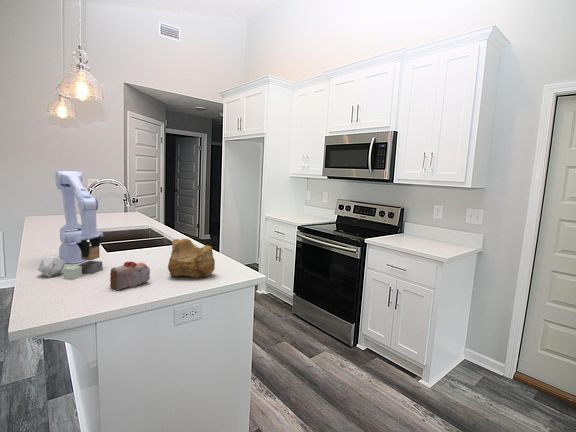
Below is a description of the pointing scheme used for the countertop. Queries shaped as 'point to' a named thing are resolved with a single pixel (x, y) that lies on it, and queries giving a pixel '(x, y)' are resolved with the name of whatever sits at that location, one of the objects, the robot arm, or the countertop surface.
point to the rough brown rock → (190, 259)
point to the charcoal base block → (91, 267)
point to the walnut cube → (92, 253)
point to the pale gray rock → (51, 266)
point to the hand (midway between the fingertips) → (90, 255)
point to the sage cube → (72, 272)
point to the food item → (129, 275)
